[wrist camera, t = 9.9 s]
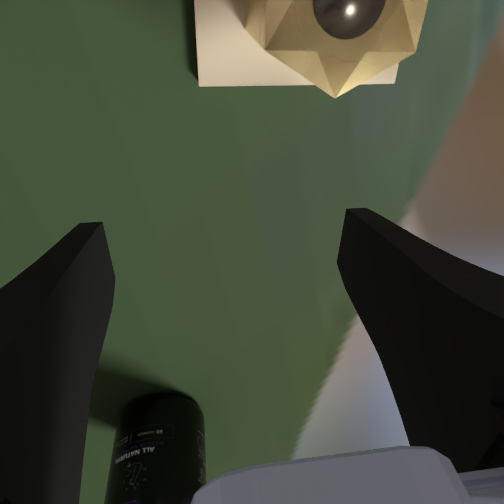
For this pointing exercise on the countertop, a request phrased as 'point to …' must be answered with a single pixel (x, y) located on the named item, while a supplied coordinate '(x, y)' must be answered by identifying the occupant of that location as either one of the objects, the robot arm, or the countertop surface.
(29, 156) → the countertop surface
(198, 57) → the oak pad
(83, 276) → the robot arm
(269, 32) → the brass nut
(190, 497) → the supplement bottle
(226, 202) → the countertop surface
